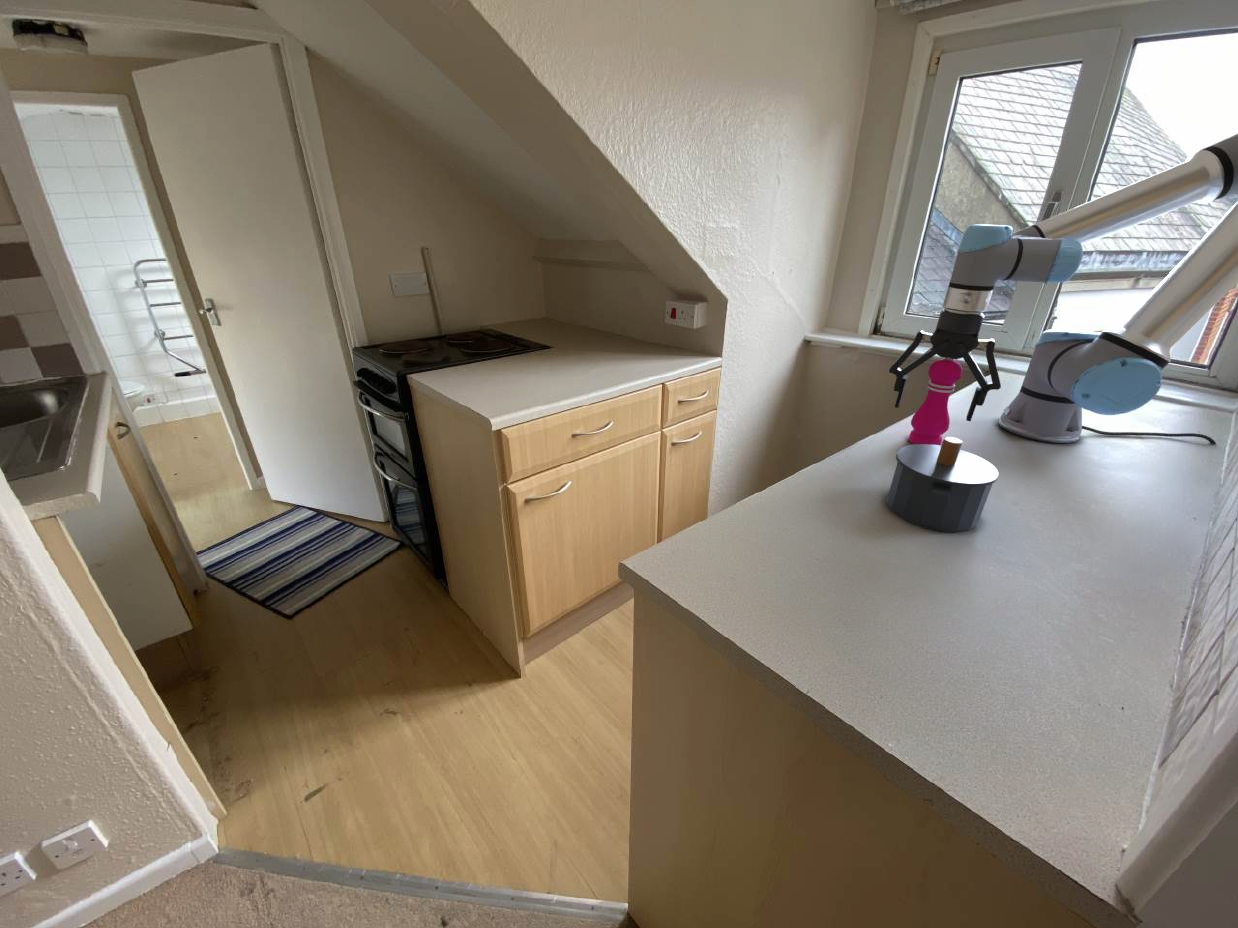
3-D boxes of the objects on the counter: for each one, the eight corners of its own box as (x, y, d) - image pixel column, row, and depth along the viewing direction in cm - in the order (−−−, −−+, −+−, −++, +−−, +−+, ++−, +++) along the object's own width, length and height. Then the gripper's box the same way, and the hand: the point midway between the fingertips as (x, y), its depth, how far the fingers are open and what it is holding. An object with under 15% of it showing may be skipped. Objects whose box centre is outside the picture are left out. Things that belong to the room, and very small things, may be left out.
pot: (976, 497, 94) (992, 454, 91) (977, 550, 80) (995, 502, 76) (893, 478, 101) (904, 437, 97) (879, 524, 86) (892, 478, 82)
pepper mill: (947, 450, 112) (977, 357, 103) (911, 447, 114) (937, 355, 105) (936, 437, 119) (963, 348, 110) (902, 434, 120) (926, 346, 111)
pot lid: (995, 462, 89) (1005, 434, 87) (998, 500, 78) (1010, 468, 75) (899, 443, 96) (907, 416, 93) (889, 475, 84) (897, 445, 82)
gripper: (891, 306, 106) (866, 405, 116) (1042, 322, 95) (1001, 430, 104) (895, 301, 112) (872, 396, 122) (1038, 315, 101) (1000, 419, 110)
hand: (931, 412), depth 113 cm, fingers open, 13 cm apart
